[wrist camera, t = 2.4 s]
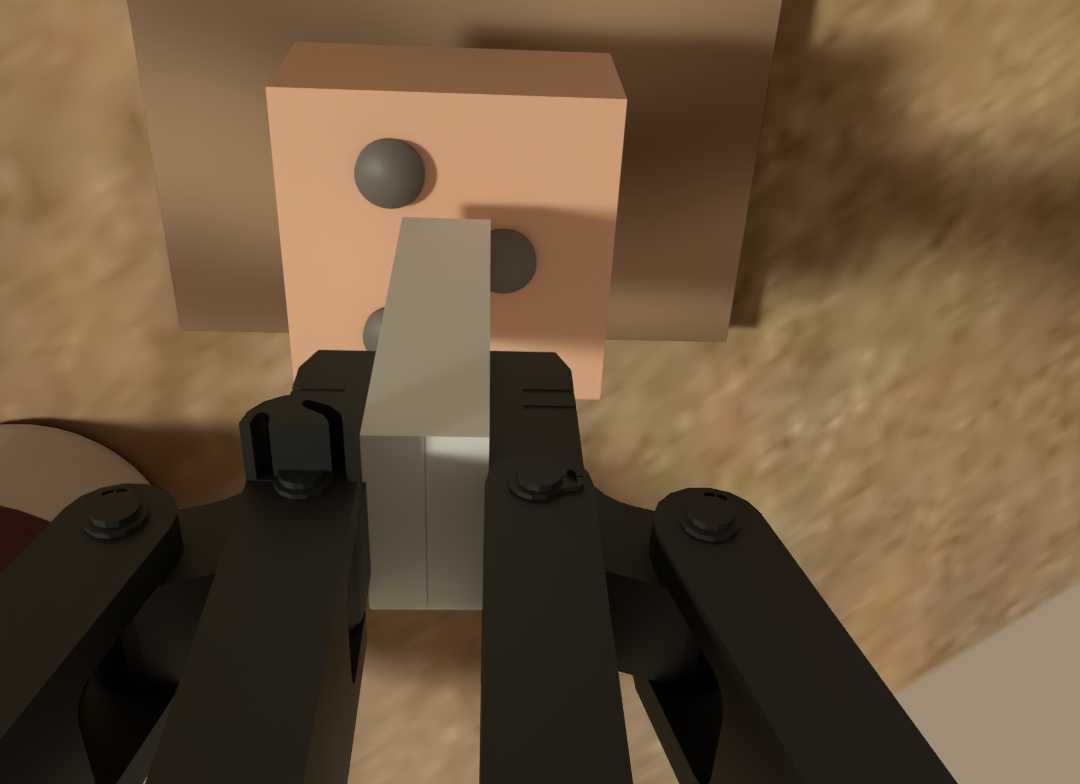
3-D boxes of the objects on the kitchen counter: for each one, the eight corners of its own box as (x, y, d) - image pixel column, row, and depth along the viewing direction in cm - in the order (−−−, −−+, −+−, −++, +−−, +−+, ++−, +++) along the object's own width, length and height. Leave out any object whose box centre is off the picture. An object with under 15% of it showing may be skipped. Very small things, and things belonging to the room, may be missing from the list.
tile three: (294, 41, 19) (262, 90, 17) (610, 53, 20) (628, 102, 17) (317, 320, 23) (293, 399, 20) (587, 326, 23) (600, 404, 20)
